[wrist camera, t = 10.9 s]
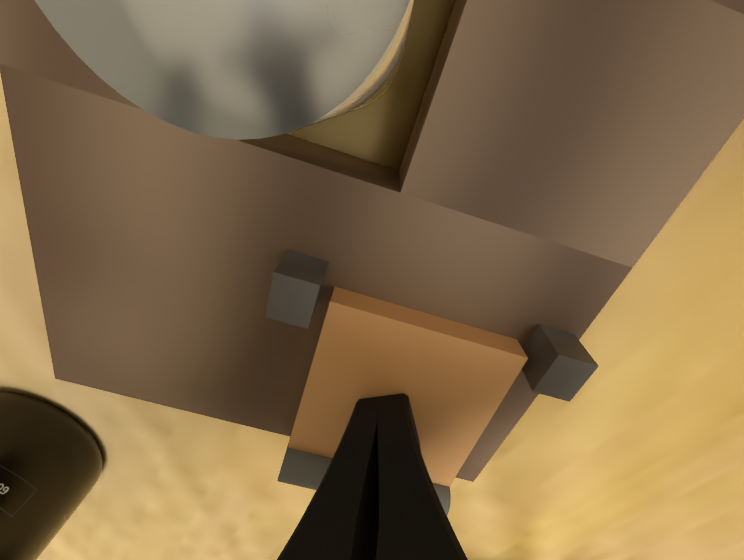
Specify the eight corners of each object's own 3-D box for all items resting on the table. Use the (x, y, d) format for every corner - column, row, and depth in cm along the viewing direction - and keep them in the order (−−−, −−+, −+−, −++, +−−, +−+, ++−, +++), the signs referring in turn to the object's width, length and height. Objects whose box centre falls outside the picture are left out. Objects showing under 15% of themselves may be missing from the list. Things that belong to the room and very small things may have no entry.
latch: (517, 339, 9) (538, 374, 8) (433, 482, 12) (439, 526, 10) (334, 286, 9) (325, 314, 7) (287, 447, 11) (275, 489, 10)
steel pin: (416, -27, 8) (500, -502, 2) (392, 119, 9) (388, 167, 3) (283, -51, 8) (-167, -650, 2) (279, 99, 9) (37, 105, 3)
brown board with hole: (788, -100, 7) (1141, -275, 4) (460, 422, 14) (480, 518, 11) (62, -428, 6) (-390, -1144, 2) (112, 330, 13) (18, 409, 10)
